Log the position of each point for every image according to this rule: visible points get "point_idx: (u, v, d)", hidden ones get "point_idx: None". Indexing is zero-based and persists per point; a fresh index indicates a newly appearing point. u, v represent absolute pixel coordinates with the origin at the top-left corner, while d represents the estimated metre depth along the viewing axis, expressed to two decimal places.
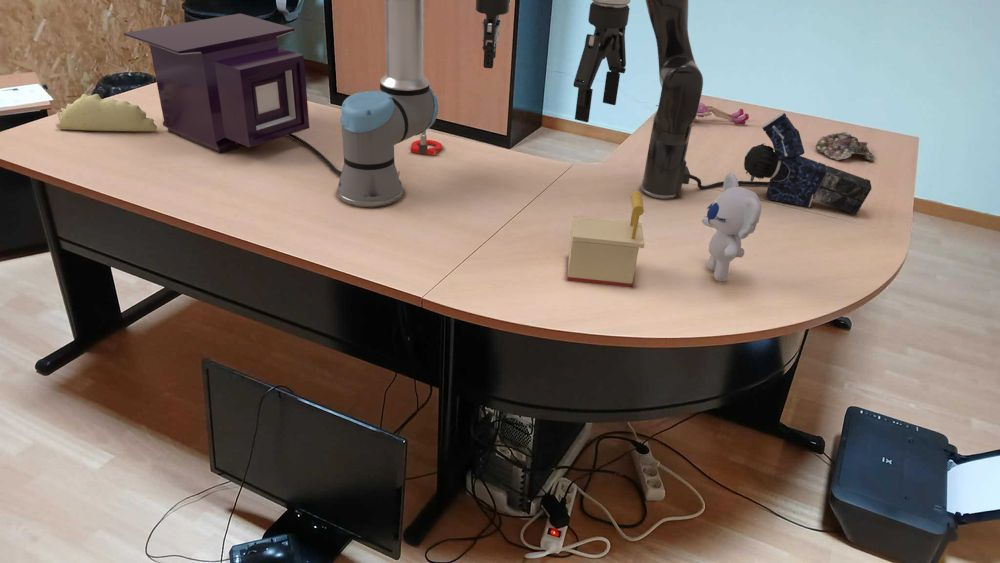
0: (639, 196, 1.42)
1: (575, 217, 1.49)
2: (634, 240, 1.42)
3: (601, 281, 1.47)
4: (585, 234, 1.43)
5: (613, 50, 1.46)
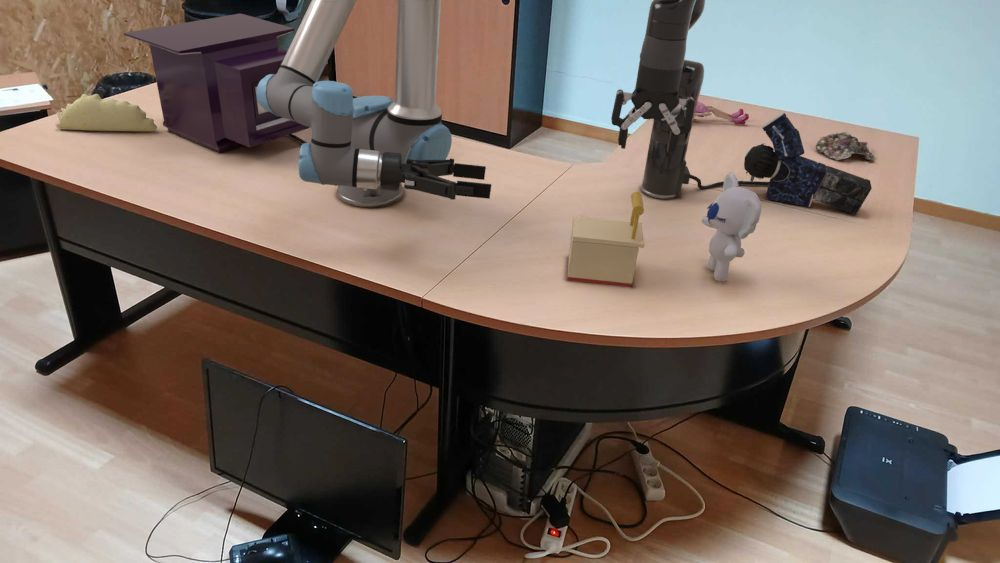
0: (639, 196, 1.42)
1: (575, 217, 1.49)
2: (634, 240, 1.42)
3: (601, 281, 1.47)
4: (585, 234, 1.43)
5: None
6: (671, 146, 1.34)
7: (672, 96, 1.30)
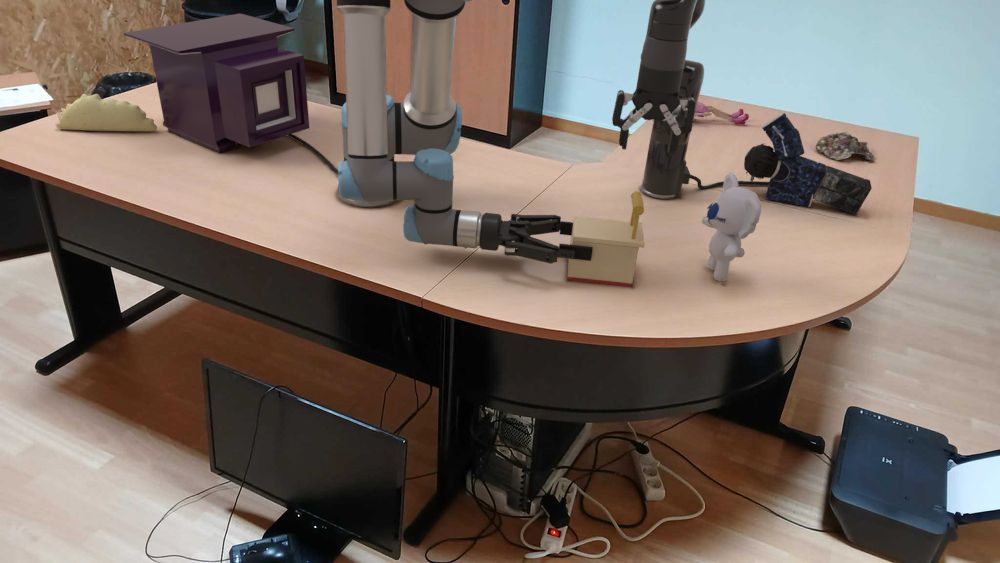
0: (639, 196, 1.42)
1: (575, 217, 1.49)
2: (634, 239, 1.42)
3: (601, 281, 1.47)
4: (585, 234, 1.43)
5: None
6: (672, 147, 1.34)
7: (673, 97, 1.30)
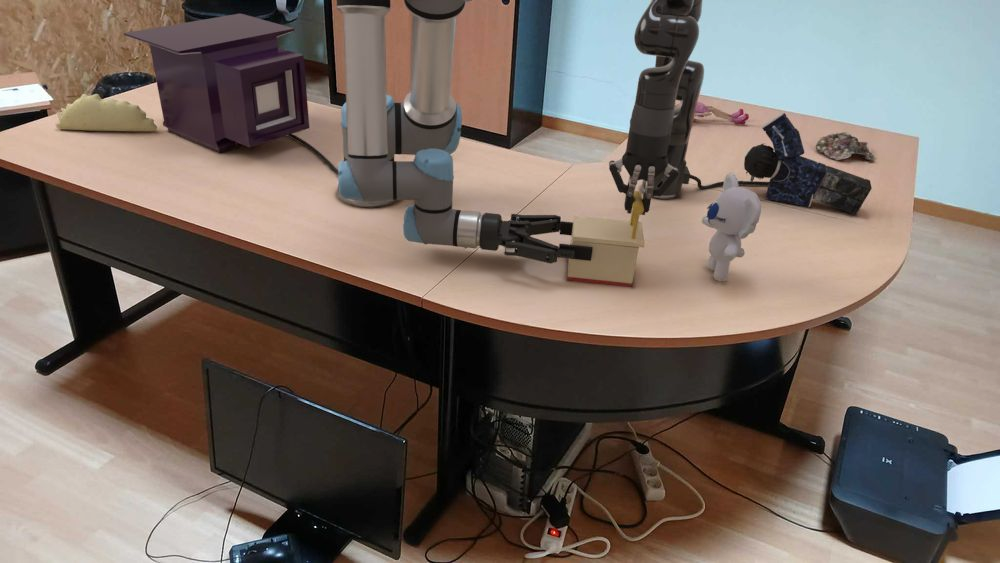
0: (639, 196, 1.42)
1: (575, 217, 1.49)
2: (634, 239, 1.42)
3: (601, 281, 1.47)
4: (585, 234, 1.43)
5: None
6: (644, 208, 1.41)
7: (661, 159, 1.36)
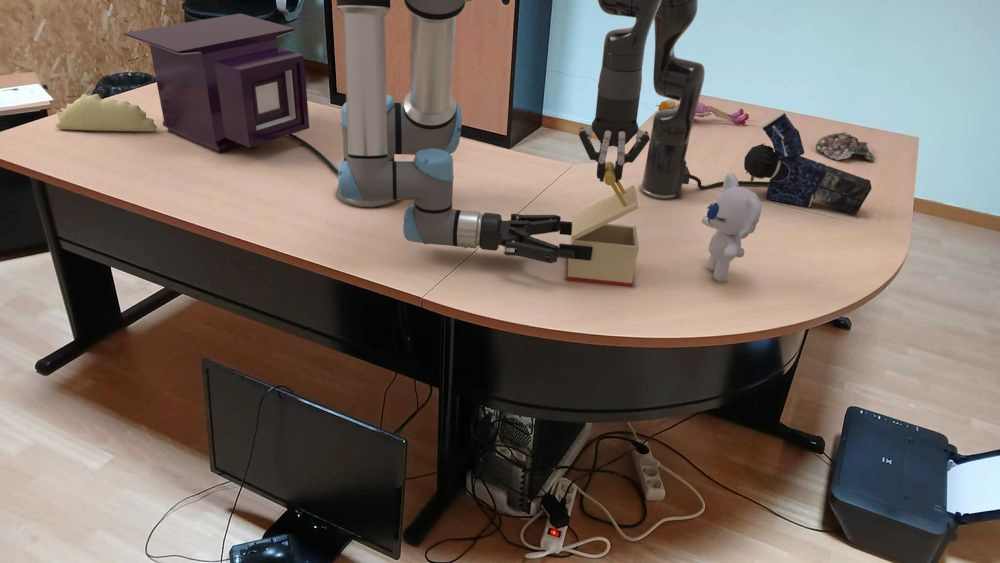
0: (608, 166, 1.40)
1: (573, 216, 1.49)
2: (626, 206, 1.39)
3: (601, 281, 1.47)
4: (582, 227, 1.43)
5: None
6: (617, 176, 1.38)
7: (631, 124, 1.33)
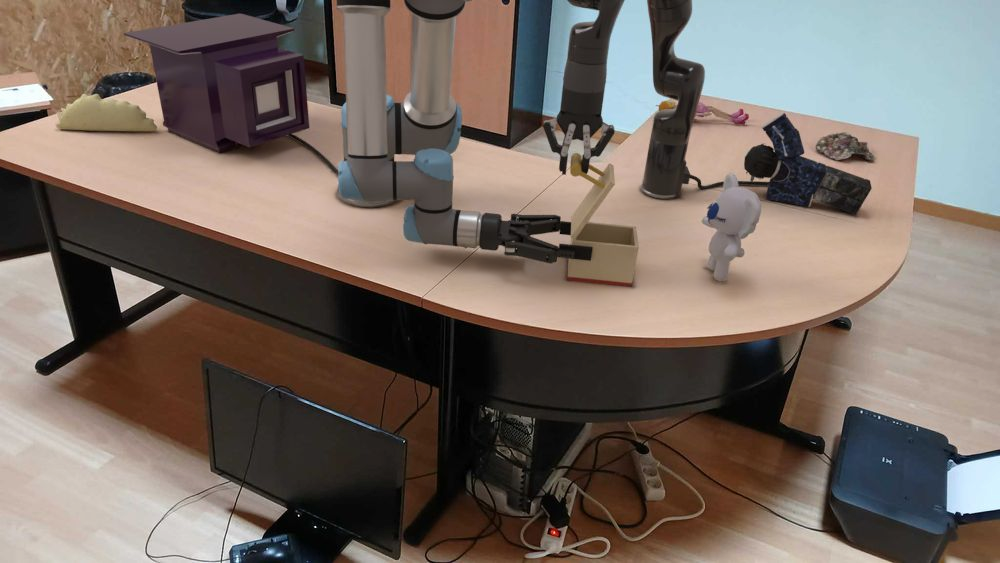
0: (572, 158, 1.40)
1: (572, 216, 1.49)
2: (604, 187, 1.37)
3: (601, 281, 1.47)
4: (577, 224, 1.42)
5: None
6: (583, 169, 1.38)
7: (595, 117, 1.33)
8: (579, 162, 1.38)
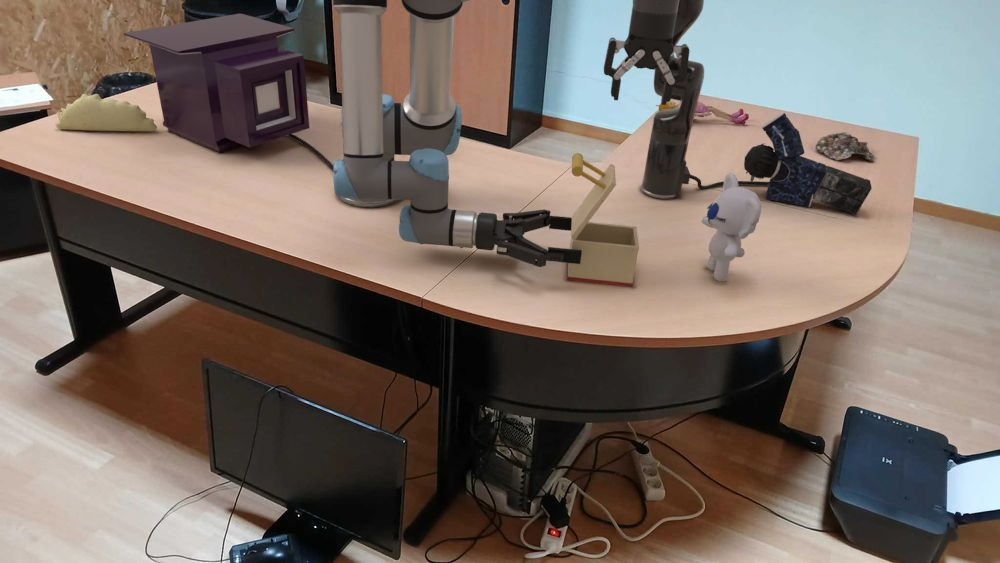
0: (574, 158, 1.40)
1: (572, 216, 1.49)
2: (605, 187, 1.37)
3: (601, 281, 1.47)
4: (577, 224, 1.42)
5: None
6: (665, 97, 1.30)
7: (666, 43, 1.25)
8: (580, 162, 1.38)
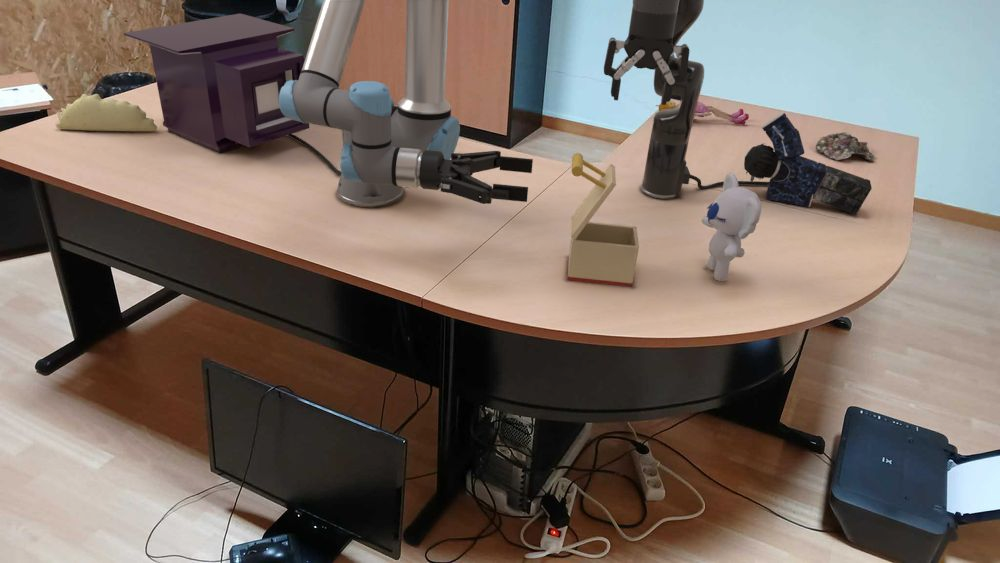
0: (574, 158, 1.40)
1: (572, 216, 1.49)
2: (605, 187, 1.37)
3: (601, 281, 1.47)
4: (577, 224, 1.42)
5: None
6: (665, 97, 1.30)
7: (666, 43, 1.25)
8: (580, 162, 1.38)
